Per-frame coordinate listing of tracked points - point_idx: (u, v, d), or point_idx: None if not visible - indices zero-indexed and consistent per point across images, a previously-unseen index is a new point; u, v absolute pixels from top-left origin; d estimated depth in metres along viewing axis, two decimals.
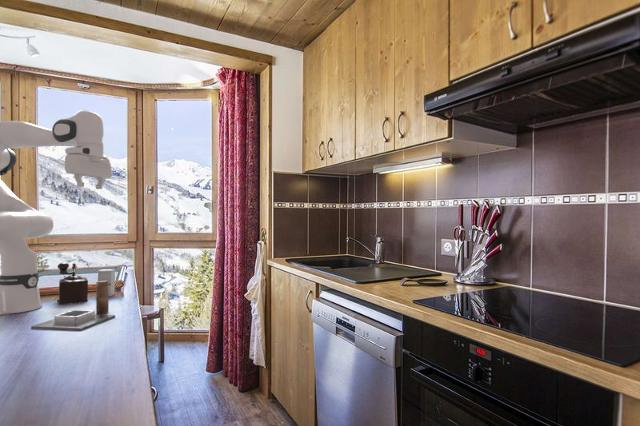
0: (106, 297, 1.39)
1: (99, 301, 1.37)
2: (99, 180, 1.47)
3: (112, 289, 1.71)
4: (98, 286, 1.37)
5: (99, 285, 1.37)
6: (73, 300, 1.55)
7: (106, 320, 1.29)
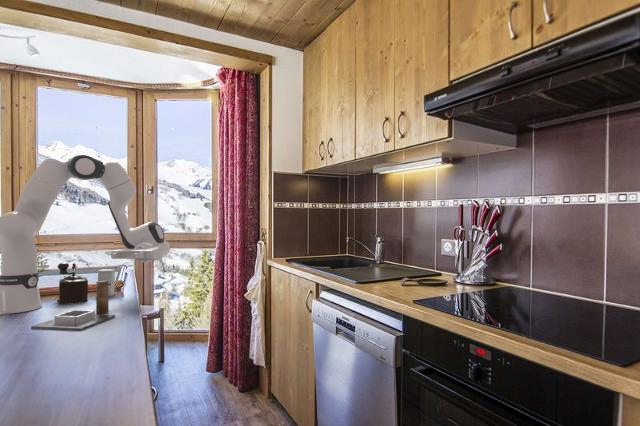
0: (106, 297, 1.39)
1: (99, 301, 1.37)
2: (117, 254, 1.55)
3: (112, 289, 1.71)
4: (98, 286, 1.37)
5: (99, 285, 1.37)
6: (73, 300, 1.55)
7: (106, 320, 1.29)
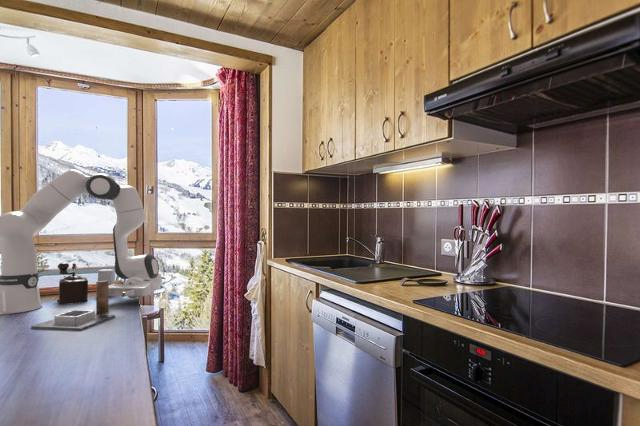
0: (106, 297, 1.39)
1: (99, 301, 1.37)
2: None
3: None
4: (98, 286, 1.37)
5: (99, 285, 1.37)
6: (73, 300, 1.55)
7: (106, 320, 1.29)
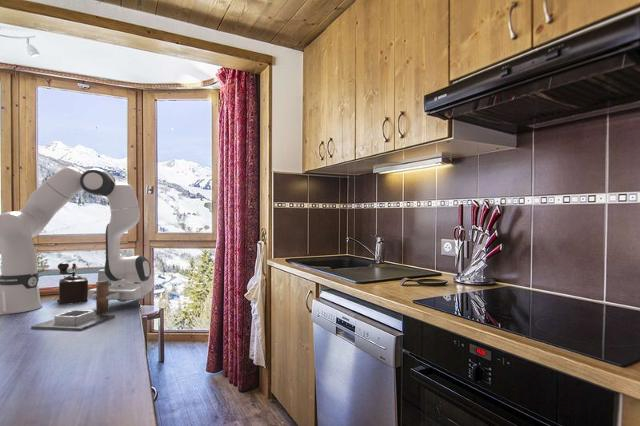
0: None
1: (99, 301, 1.37)
2: None
3: None
4: (98, 286, 1.37)
5: (99, 285, 1.37)
6: (73, 300, 1.55)
7: (106, 320, 1.29)
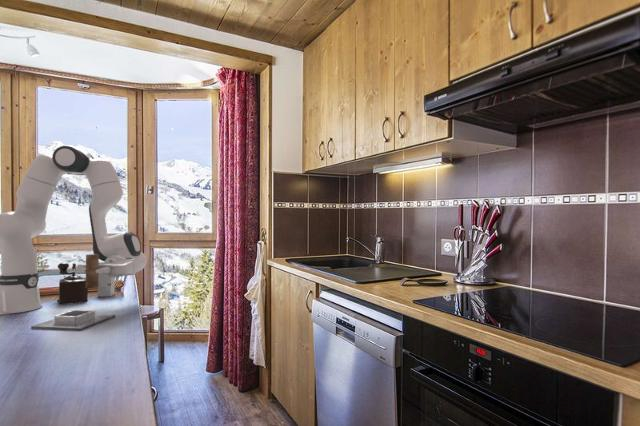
0: None
1: (88, 275, 1.32)
2: None
3: (112, 289, 1.71)
4: (88, 259, 1.32)
5: (88, 257, 1.32)
6: (73, 300, 1.55)
7: (106, 320, 1.29)
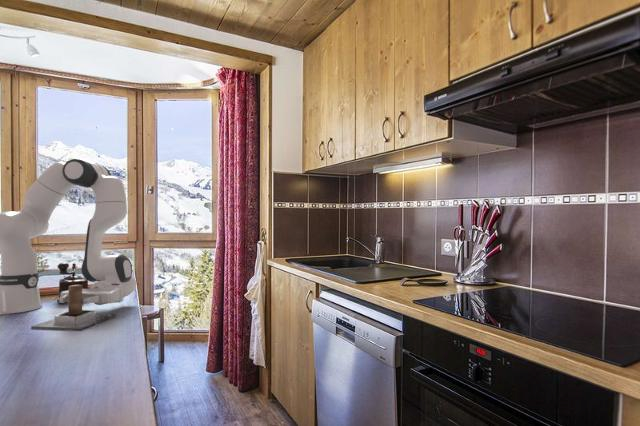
0: (79, 303, 1.26)
1: (71, 308, 1.24)
2: (67, 297, 1.30)
3: None
4: (70, 291, 1.24)
5: (71, 289, 1.24)
6: None
7: (106, 320, 1.29)
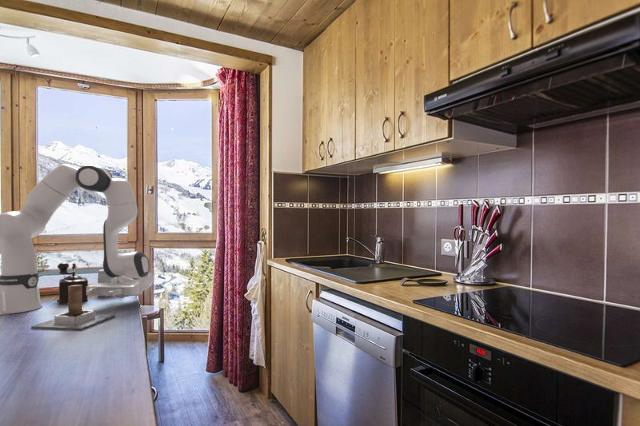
0: (79, 303, 1.26)
1: (71, 308, 1.24)
2: (93, 290, 1.42)
3: None
4: (70, 291, 1.24)
5: (71, 289, 1.24)
6: None
7: (106, 320, 1.29)
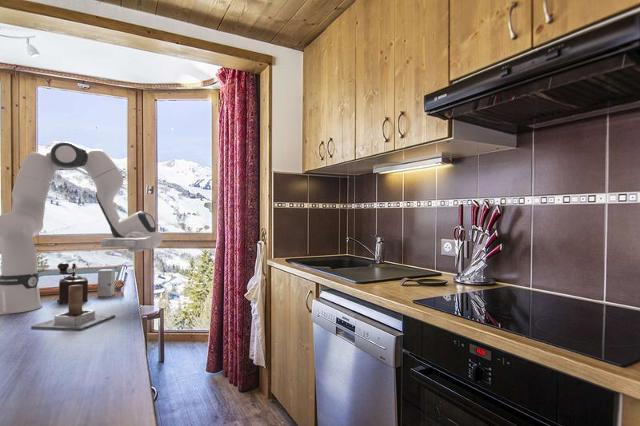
0: (79, 303, 1.26)
1: (71, 308, 1.24)
2: (107, 242, 1.50)
3: (112, 289, 1.71)
4: (70, 291, 1.24)
5: (71, 289, 1.24)
6: None
7: (106, 320, 1.29)
